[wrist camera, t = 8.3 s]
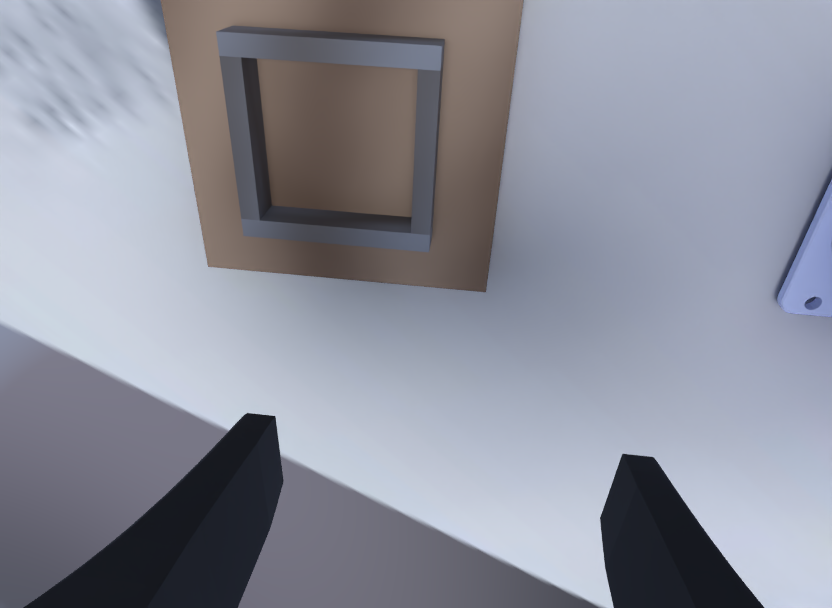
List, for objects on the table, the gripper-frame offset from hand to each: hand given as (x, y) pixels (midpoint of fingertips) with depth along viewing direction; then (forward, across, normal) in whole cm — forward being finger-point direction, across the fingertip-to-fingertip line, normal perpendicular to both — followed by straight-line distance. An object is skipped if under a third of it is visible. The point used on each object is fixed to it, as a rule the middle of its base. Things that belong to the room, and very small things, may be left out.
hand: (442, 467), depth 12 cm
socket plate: (+10, +4, -4) cm, 11 cm away
